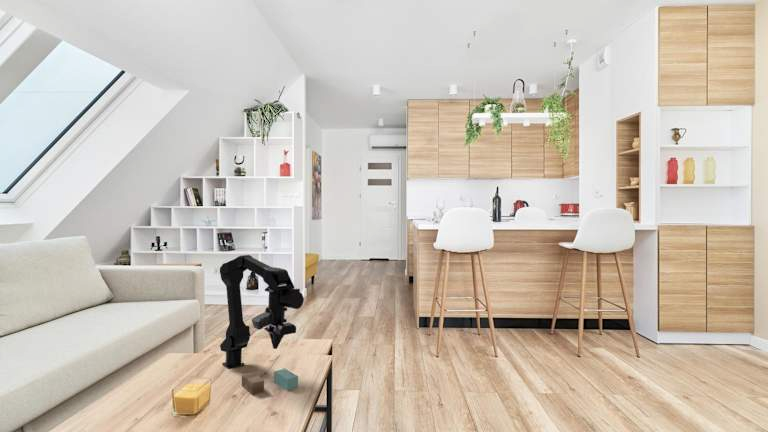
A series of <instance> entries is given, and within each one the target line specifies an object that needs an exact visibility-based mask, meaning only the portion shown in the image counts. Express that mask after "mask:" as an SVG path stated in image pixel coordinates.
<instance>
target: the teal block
mask: <svg viewBox="0 0 768 432" xmlns="http://www.w3.org/2000/svg"><path fill="white" fill-rule="evenodd" d="M273 375H274V376H273V383H274V384H276V385H277V386H279V387H280V388H282V389H284V390H285V391H291V390H294V389H298V388H299V376H298V375H297V374H295V373H293V372H291V371H289V370H288V369H286V368H283V369H279V370H275V371H274V372H273Z"/></svg>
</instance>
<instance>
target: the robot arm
mask: <svg viewBox="0 0 768 432" xmlns="http://www.w3.org/2000/svg"><path fill="white" fill-rule="evenodd" d="M247 270H248V271H250V272H252V273H254V274H255V275H258V276H259V277H261V278H262V280H263V282H264V283H265V284H266V285H267V286H266V288H265V289H264V291H265V292H268V306H267V307H265V311H264V312H263V313H260V314H258V315H256V316H254V317H252V318H251V322H252V326H253V328H254V329H257V330H262V329H264V331H266V332H267V333H268V335H269V337H270V342H271V345H272V349H274V350H275V349H278V347H279V345H280V343H281V341H282V340H283V338H284V336H287V335H291V334H296V333H297V326H296V325H295V324H293V323H291V322H287V318H285V316H286V315H285V313H286V312H287V311H288V308H290V309H294V310H298V309H300V308H301V307H302V306H303V304H304V300H305V297H304V295H303V294H302V292H301V289H300V288H295V285H294V282H293V281H292V279H291V277H290V275H289V272H288V270H286V269H284V268H281V267H274V266H270V265H268V264H266V263H264V262H262V261H260V260H258V259H257V258H254V257H253V256H252V255H249V254H242V255H238V256H237V257H235V258H233V259H231V260H230V261H229V260H228V261H227V262H223V263H222V264H221V265H220V267H219V275H220V279H221V281H222V282H223V284H224V285H225V286H226V287H225V288H226V298H227V308H228V310H227V311H228V322H229V324H228V326H227V327H226V331H225V338H224V339H223V341H222V342H221V343H220V345H219V347H220V351H221V352H225V362H222V363H221V365H222V364H223V365H222V366H224V367H225V368H227V369H228V370H230V368H231V369H234V367H235V368H238V367H237V366H239V367H241V366H240V365H244V364H245V363H244V362H243V361H242V356H243V355H242V353H243V352H242V350H243V349H245V348H247V347H248V344H249V342H250V338H251V332H250V326H249V325H246V323H245V321H244V317H243V316H244V315H243V303H242V293H241V283H242V281H243V279H244V272H245V271H247ZM241 362H242V363H241ZM244 366H245V365H244Z"/></svg>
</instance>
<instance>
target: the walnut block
mask: <svg viewBox="0 0 768 432" xmlns="http://www.w3.org/2000/svg"><path fill="white" fill-rule="evenodd" d="M241 387H242V388H243V389H244V390H246V392H247V393H249V394H250V395H251V396H253V395H254V396H255V395H257V394H261V393H264V392H265V380H264V379H263V378H262V377H260V375H258V374H257V373H255V371H252V372H247V373H243V374H241Z"/></svg>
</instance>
